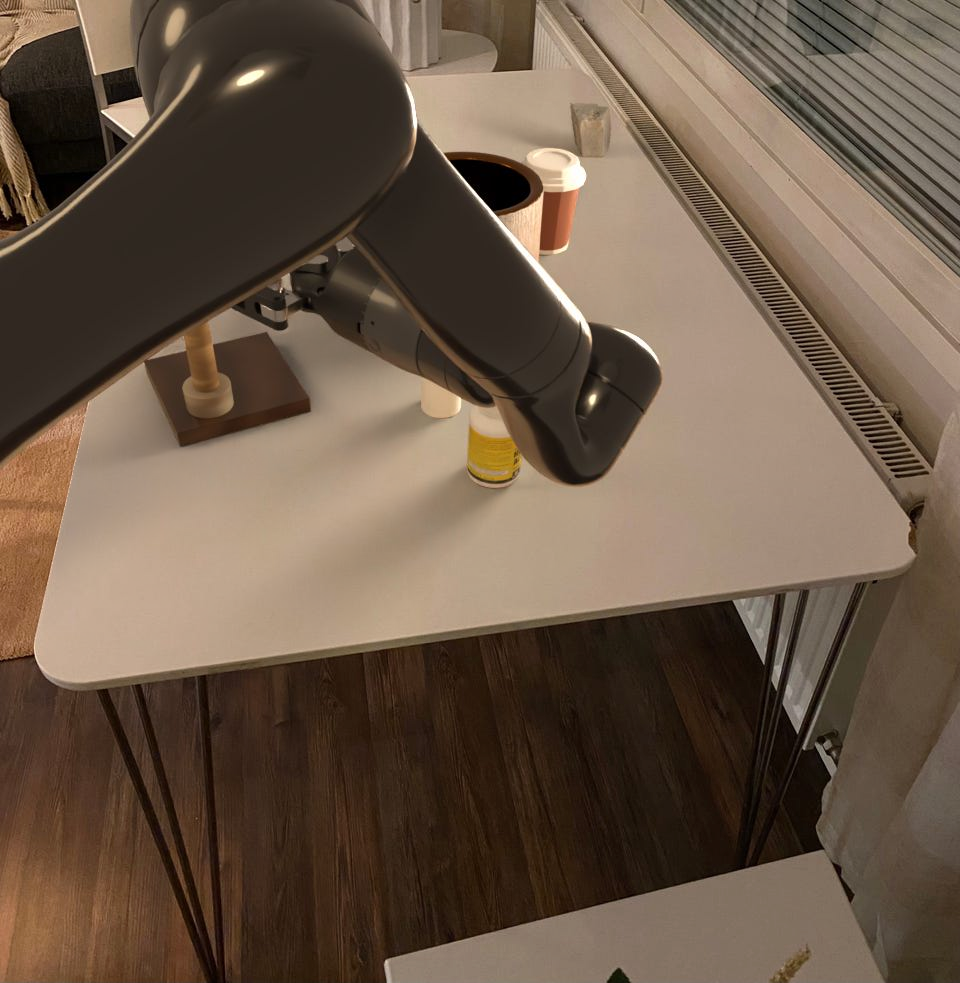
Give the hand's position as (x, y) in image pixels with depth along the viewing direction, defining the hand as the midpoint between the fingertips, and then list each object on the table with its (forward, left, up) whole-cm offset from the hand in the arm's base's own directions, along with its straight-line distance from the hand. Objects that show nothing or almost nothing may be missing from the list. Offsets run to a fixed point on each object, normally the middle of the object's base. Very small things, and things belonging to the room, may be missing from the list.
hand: (256, 236), depth 78 cm
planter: (+31, +22, -26) cm, 46 cm away
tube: (+19, +4, -26) cm, 33 cm away
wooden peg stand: (-4, +13, -24) cm, 27 cm away
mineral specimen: (+70, +54, -26) cm, 92 cm away
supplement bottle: (+19, -8, -26) cm, 33 cm away
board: (-1, +16, -26) cm, 31 cm away
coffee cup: (+48, +31, -26) cm, 63 cm away
